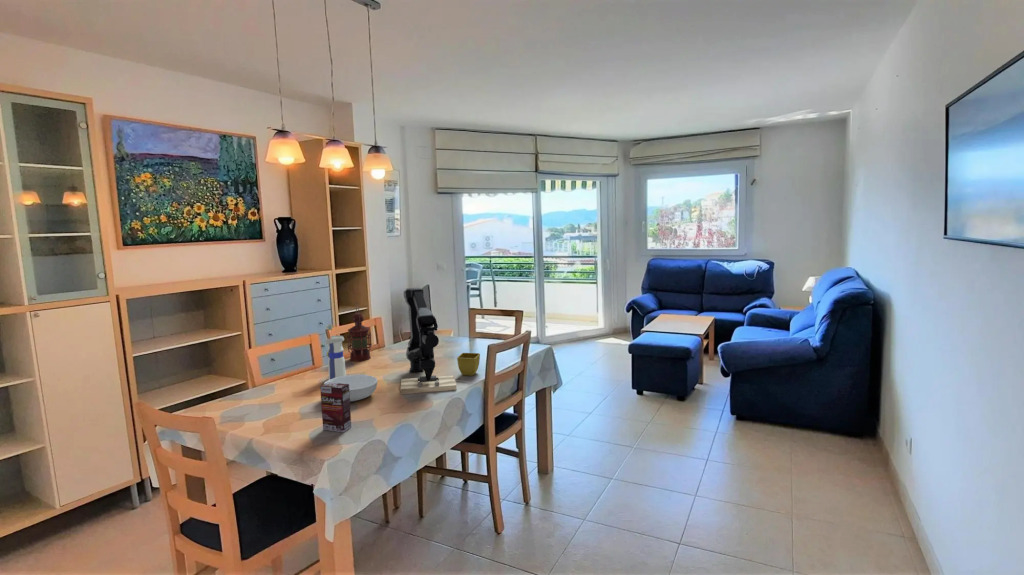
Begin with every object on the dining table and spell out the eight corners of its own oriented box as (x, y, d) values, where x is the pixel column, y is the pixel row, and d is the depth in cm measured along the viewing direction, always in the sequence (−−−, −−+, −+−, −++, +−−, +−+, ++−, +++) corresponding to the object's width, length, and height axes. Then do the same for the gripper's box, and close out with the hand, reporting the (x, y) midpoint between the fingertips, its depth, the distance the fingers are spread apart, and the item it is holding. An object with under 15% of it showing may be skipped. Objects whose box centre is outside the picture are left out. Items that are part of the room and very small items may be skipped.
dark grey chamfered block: (420, 384, 226) (419, 376, 225) (436, 383, 227) (435, 375, 227) (420, 386, 223) (419, 378, 223) (436, 385, 224) (436, 377, 224)
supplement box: (322, 430, 177) (319, 386, 175) (330, 425, 182) (327, 381, 180) (344, 432, 175) (341, 387, 173) (352, 427, 179) (349, 383, 177)
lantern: (346, 357, 272) (342, 301, 268) (369, 354, 278) (366, 299, 274) (350, 363, 261) (346, 304, 257) (374, 359, 267) (371, 302, 263)
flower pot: (475, 377, 234) (475, 358, 233) (457, 376, 236) (456, 357, 234) (480, 371, 242) (480, 353, 241) (462, 371, 244) (462, 352, 243)
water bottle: (323, 380, 233) (319, 326, 230) (335, 375, 241) (331, 322, 238) (338, 381, 231) (335, 327, 228) (350, 376, 239) (347, 323, 236)
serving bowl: (357, 409, 196) (356, 392, 195) (313, 403, 204) (311, 387, 203) (388, 392, 216) (387, 376, 215) (347, 387, 223) (346, 372, 222)
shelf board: (401, 383, 227) (401, 375, 226) (454, 379, 231) (453, 371, 230) (400, 394, 213) (400, 385, 213) (456, 389, 217) (456, 381, 217)
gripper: (407, 339, 230) (409, 372, 232) (407, 349, 212) (408, 385, 214) (433, 337, 232) (434, 371, 234) (434, 347, 214) (435, 383, 216)
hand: (428, 377), depth 225 cm, fingers open, 9 cm apart
